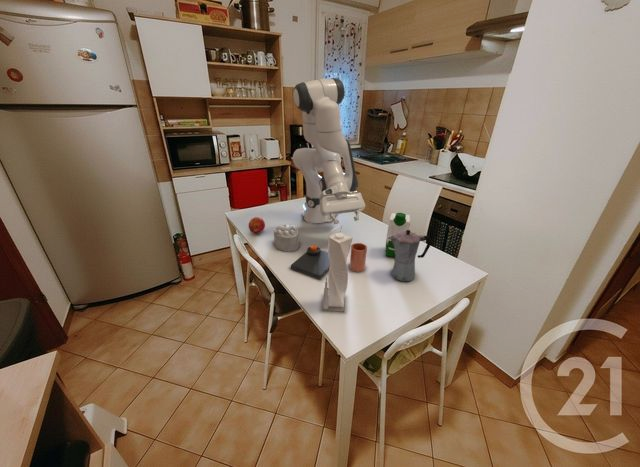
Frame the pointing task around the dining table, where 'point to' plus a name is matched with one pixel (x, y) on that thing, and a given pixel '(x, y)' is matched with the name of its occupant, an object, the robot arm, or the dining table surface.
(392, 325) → the dining table surface
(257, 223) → the apple
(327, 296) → the skyscraper
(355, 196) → the robot arm
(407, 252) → the moka pot
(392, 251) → the milk carton
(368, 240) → the dining table surface
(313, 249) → the button
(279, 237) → the lumpy-topped squat cylinder
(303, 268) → the dark grey flat block
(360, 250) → the cup
